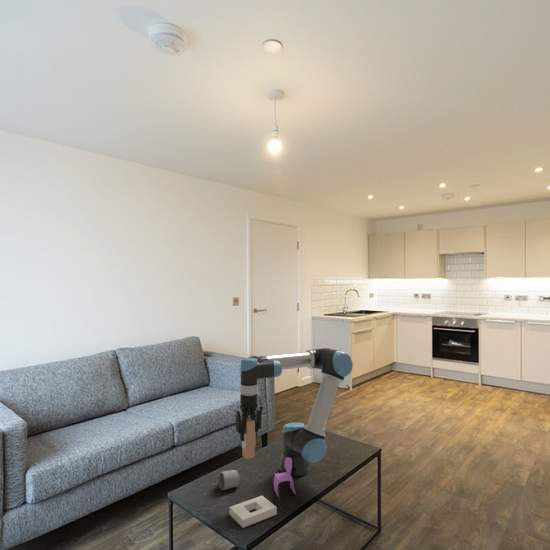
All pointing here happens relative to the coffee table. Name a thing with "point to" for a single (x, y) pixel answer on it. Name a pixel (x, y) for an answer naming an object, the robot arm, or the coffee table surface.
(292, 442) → the robot arm
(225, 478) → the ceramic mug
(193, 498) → the coffee table surface
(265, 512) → the socket block
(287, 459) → the toy chair
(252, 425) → the peg
